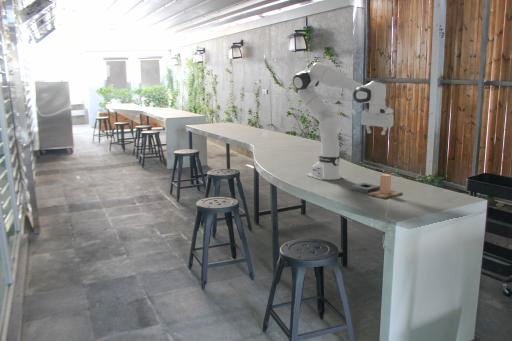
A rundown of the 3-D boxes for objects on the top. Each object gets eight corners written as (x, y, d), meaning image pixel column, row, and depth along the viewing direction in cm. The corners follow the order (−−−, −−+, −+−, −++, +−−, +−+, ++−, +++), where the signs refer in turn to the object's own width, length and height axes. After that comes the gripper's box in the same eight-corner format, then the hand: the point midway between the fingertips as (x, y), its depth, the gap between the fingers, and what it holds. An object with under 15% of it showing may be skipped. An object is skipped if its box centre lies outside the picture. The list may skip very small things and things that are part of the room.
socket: (351, 189, 262) (351, 185, 262) (363, 186, 270) (363, 182, 269) (367, 193, 254) (367, 189, 253) (380, 190, 261) (380, 186, 260)
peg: (379, 192, 252) (380, 174, 250) (384, 191, 255) (385, 173, 252) (385, 194, 249) (386, 176, 247) (390, 192, 251) (391, 175, 249)
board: (367, 195, 251) (367, 193, 251) (385, 190, 261) (385, 188, 261) (384, 199, 243) (384, 197, 243) (402, 194, 253) (402, 192, 252)
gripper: (358, 108, 266) (357, 132, 269) (389, 110, 251) (387, 136, 254) (365, 108, 270) (364, 131, 273) (395, 110, 255) (394, 135, 257)
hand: (375, 134), depth 263 cm, fingers open, 8 cm apart
